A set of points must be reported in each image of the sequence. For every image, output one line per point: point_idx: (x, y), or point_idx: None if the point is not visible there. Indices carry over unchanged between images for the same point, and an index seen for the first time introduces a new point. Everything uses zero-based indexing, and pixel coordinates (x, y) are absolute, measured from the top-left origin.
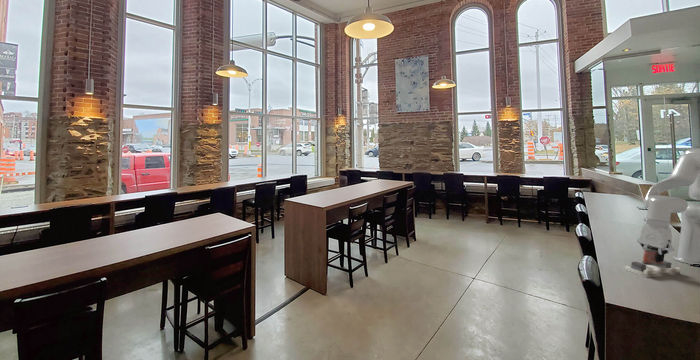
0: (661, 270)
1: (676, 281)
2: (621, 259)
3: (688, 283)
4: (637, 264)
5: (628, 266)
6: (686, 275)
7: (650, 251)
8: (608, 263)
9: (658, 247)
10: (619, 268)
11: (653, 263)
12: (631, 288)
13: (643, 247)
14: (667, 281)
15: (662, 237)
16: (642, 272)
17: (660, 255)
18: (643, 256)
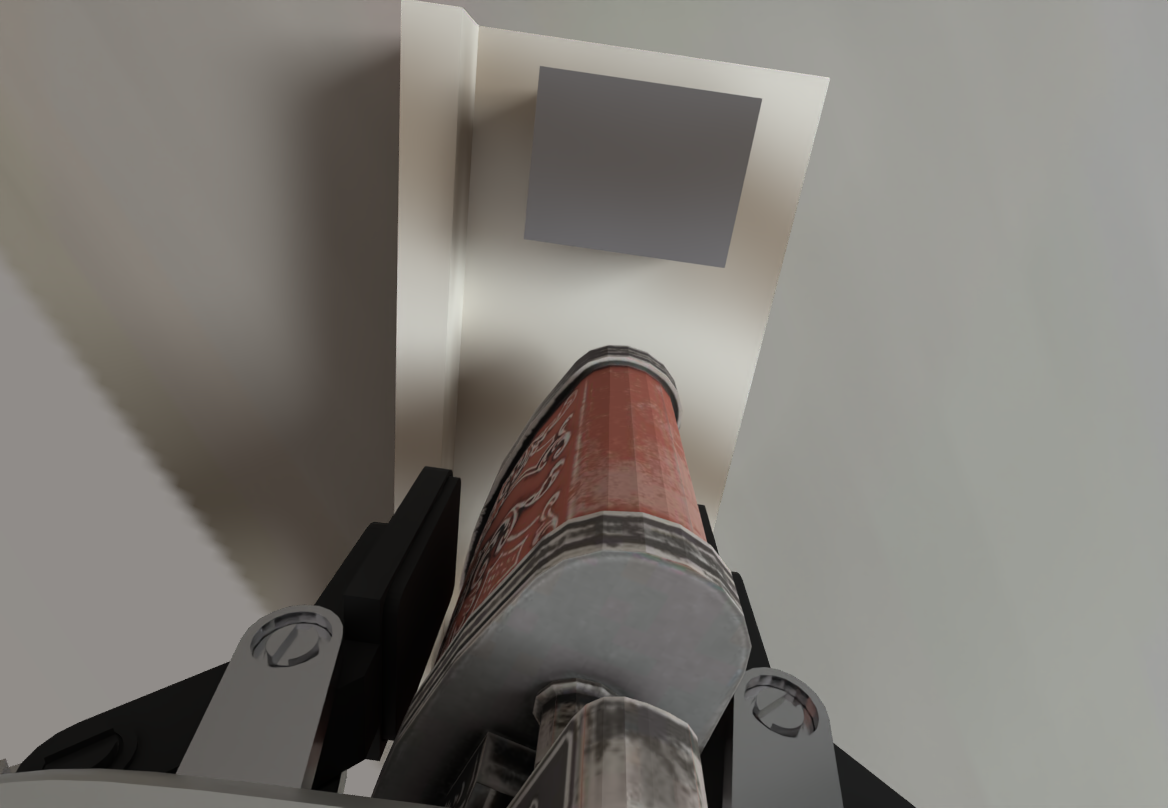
0: (399, 398)
1: (247, 348)
2: (1026, 567)
3: (179, 422)
4: (627, 82)
5: (793, 159)
6: None
7: (516, 570)
8: (1108, 125)
9: (72, 794)
10: (877, 33)
11: (518, 457)
12: None
13: (823, 746)
14: (259, 210)
15: None
16: (509, 57)
17: (342, 613)
18: (679, 444)
